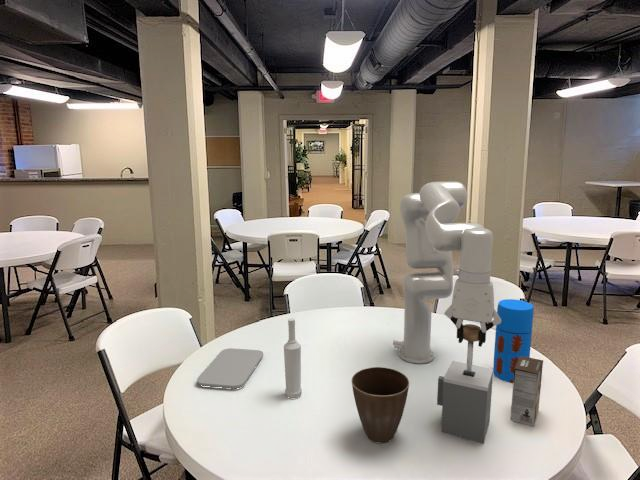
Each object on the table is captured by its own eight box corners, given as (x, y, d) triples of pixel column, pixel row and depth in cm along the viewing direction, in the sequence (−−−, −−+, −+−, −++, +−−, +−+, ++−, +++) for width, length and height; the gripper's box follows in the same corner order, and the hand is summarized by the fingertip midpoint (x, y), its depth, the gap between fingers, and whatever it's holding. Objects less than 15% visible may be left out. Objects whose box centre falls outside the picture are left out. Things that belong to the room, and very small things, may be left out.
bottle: (304, 392, 144) (302, 317, 139) (298, 400, 139) (296, 323, 134) (289, 389, 146) (287, 315, 140) (282, 397, 141) (280, 321, 136)
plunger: (450, 396, 122) (453, 330, 118) (456, 382, 128) (459, 320, 124) (480, 403, 118) (484, 335, 114) (484, 389, 125) (488, 324, 121)
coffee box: (515, 404, 136) (519, 354, 132) (539, 410, 132) (543, 359, 129) (509, 420, 128) (514, 367, 125) (534, 427, 125) (539, 373, 121)
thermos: (531, 384, 147) (537, 311, 141) (496, 381, 149) (501, 309, 144) (523, 368, 157) (529, 299, 152) (490, 366, 159) (495, 298, 154)
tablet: (194, 388, 147) (193, 382, 147) (224, 353, 173) (224, 347, 172) (242, 392, 145) (241, 386, 144) (265, 356, 170) (265, 350, 169)
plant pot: (368, 459, 113) (369, 401, 109) (342, 426, 126) (342, 373, 123) (418, 443, 118) (420, 387, 115) (388, 413, 132) (389, 362, 129)
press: (432, 429, 124) (434, 376, 121) (441, 409, 134) (443, 358, 130) (483, 444, 118) (487, 387, 115) (489, 421, 127) (493, 368, 124)
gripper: (438, 276, 117) (435, 342, 121) (508, 284, 109) (503, 354, 113) (444, 269, 124) (441, 332, 127) (511, 276, 116) (506, 343, 120)
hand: (470, 342), depth 120 cm, fingers closed on plunger, 4 cm apart
